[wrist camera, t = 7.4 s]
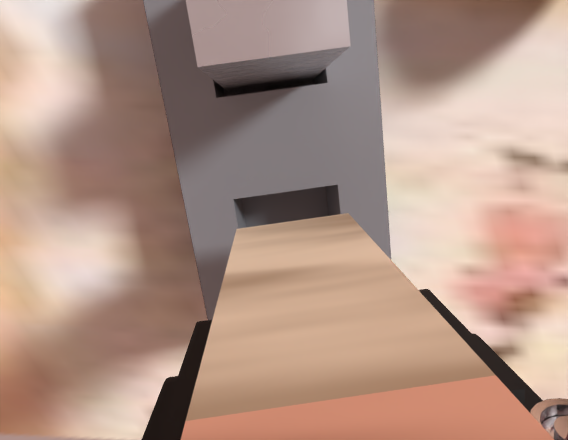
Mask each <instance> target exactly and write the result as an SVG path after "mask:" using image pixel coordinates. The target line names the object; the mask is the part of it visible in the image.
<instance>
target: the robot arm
mask: <svg viewBox="0 0 568 440" xmlns="http://www.w3.org/2000/svg"><path fill="white" fill-rule="evenodd" d="M419 291H420V293H421V294H422V295H423V296H424V297H425V298H426V299H427V300H428V301H429V302H430V304H431V305H432V306H433V307H434V308H435V309H436V310H437V311H438V312H439V313H440V315H441V316H442V317H443V318H444V319H445V320H446V321H447V322H448V323H449V324H450V326H451V327H452V328H453V329H454V330H455V331H456V332H457V333H458V334H459V335H460V337H461V338H462V339H463V340H464V341H465V342H466V343H467V344H468V345H469V346H470V348H471V349H472V350H473V351H474V352H475V353H476V354H477V355H478V356H479V357H480V359H481V360H482V361H483V362H484V363H485V364H486V365H487V366H488V367H489V368H490V370H491V371H492V372H493V373H494V374H495V375H496V376H497V377H498V378H499V379H500V381H501V382H502V383H503V384H504V385H505V386H506V387H507V388H508V389H509V390H510V392H511V393H512V394H513V395H514V396H515V397H516V398H517V399H518V400H519V401H520V403H521V404H522V405H523V406H524V407H525V408H526V409H527V410H528V411H529V412H530V414H531V415H532V416H533V417H534V418H535V419H536V420H537V421H538V422H539V423H540V425H541V426H542V427H543V428H544V429H545V430H546V431H547V432H548V433H549V434H550V435H551V437H552V438H553V439H554V440H568V399H561V398H558V399H547V400H544V401H543V400H542V399H541V398H540V397H539V396H538V395H537V394H536V393H535V392H534V391H533V390H532V389H531V388H530V387H529V386H528V385H527V384H526V383H525V382H524V381H523V380H522V379H521V378H520V377H519V376H518V375H517V374H516V373H515V372H514V371H513V370H512V369H511V368H510V367H509V366H508V365H507V364H506V363H505V362H504V361H503V360H502V359H501V358H500V357H499V356H498V355H497V354H496V353H495V352H494V351H493V350H492V349H491V348H490V347H489V346H488V345H487V344H486V343H485V342H484V341H483V340H482V339H481V338H480V337H479V336H477V335H476V334H471V333H470V332H469V331H468V329H467V328H466V327H465V326H464V325H463V324H462V323H461V322H460V321H459V320H458V319H457V318H456V317H455V316H454V315H453V314H452V313H451V312H450V311H449V310H448V309H447V308H446V307H445V306H444V305H443V304H442V303H441V302H440V301H439V300H438V299H437V298H436V296H435V295H434V294H433V293H432V292H431V291H430V290H428V289H423V290H419ZM211 323H212V320H207V321H200V322H197V323H196V326H195V329H194V331H193V334H192V337H191V340H190V343H189V346H188V349H187V352H186V355H185V358H184V360H183V363H182V366H181V369H180V372H179V375H178V376H175V377H169V378H167V379H166V380H165V382H164V384H163V386H162V389H161V392H160V394H159V397H158V399H157V402H156V404H155V407H154V410H153V412H152V415H151V417H150V420H149V422H148V425H147V428H146V430H145V433H144V435H143V438H142V440H181V436H182V433H183V429H184V425H185V421H186V418H187V414H188V410H189V406H190V403H191V399H192V395H193V391H194V387H195V384H196V380H197V376H198V372H199V369H200V365H201V361H202V357H203V354H204V350H205V346H206V342H207V338H208V335H209V331H210V327H211Z"/></svg>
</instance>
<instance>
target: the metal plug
mask: <svg viewBox="0 0 568 440" xmlns="http://www.w3.org/2000/svg"><path fill="white" fill-rule="evenodd" d="M186 5H187V10H188V16H189V22H190V27H191V33H192V39H193V44H194V50H195V55H196V61H197V67H198V68H199V69H201V70H202V71H203V72H204V73H206V74H207V75H208V76H209V77H210V78H212V79H213V80H214V81H215V82H217V83H218V84H219V85H220V86H222V87H223V88H224V89H225V90H227V91H228V92H229V93H230V94H231V95H232V94H239V93H246V92H253V91H261V90H268V89H275V88H283V87H290V86H297V85H305V84H308V83H309V82H311V81H312V80H313V79H314V78H315V77H316V76H317V75H319V74H320V73H321V72H322V71H323V70H324V69H325V68H327V67H328V66H329V65H330V64H331V63H332V62H333V61H334V60H336V59H337V58H338V57H339V56H340V55H341V54H342V53H344V52H345V51H346V50H347V49H348V48H349V47H350V46H351V45H350V33H349V21H348V9H347V0H186Z"/></svg>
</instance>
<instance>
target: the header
mask: <svg viewBox="0 0 568 440" xmlns="http://www.w3.org/2000/svg"><path fill="white" fill-rule="evenodd" d="M143 2H144V7H145V12H146V17H147V22H148V26H149V31H150V36H151V41H152V46H153V51H154V56H155V61H156V66H157V71H158V76H159V81H160V86H161V91H162V96H163V101H164V105H165V110H166V115H167V120H168V125H169V130H170V135H171V140H172V145H173V150H174V155H175V160H176V165H177V170H178V175H179V180H180V184H181V189H182V194H183V199H184V204H185V209H186V214H187V219H188V224H189V229H190V234H191V239H192V244H193V249H194V254H195V259H196V263H197V268H198V273H199V278H200V283H201V288H202V293H203V298H204V303H205V308H206V313H207V318H208V320H213V316H214V312H215V308H216V305H217V301H218V297H219V293H220V290H221V286H222V282H223V278H224V274H225V271H226V267H227V263H228V259H229V256H230V252H231V248H232V244H233V241H234V237H235V233H236V229H240V228H247V227H254V226H261V225H268V224H275V223H282V222H289V221H296V220H303V219H311V218H318V217H325V216H332V215H339V214H346V213H349V215H350V216H351V217H352V218H353V219H354V220H355V221H356V222H357V223H358V224H359V225H360V227H361V228H362V229H363V230H364V231H365V232H366V233H367V234H368V235H369V236H370V238H371V239H372V240H373V241H374V242H375V243H376V244H377V245H378V246H379V247H380V249H381V250H382V251H383V252H384V253H385V254H386V255H387V256H388V257H389V258H390V260H391V249H390V234H389V220H388V205H387V190H386V175H385V161H384V146H383V131H382V116H381V102H380V87H379V72H378V57H377V42H376V28H375V13H374V0H347V9H348V21H349V33H350V45H351V46H350V47H349V48H348V49H347V50H346V51H345V52H344V53H342V54H341V55H340V56H339V57H338V58H337V59H336V60H334V61H333V62H332V63H331V64H330V65H329V66H328V67H327V68H325V69H324V70H323V71H322V72H321V73H320V74H319V75H317V76H316V77H315V78H314V79H313V80H312V81H311V82H309V83H308V84H305V85H297V86H290V87H283V88H275V89H268V90H261V91H253V92H246V93H239V94H232V95H231V94H230V93H229V92H228V91H227V90H225V89H224V88H223V87H222V86H220V85H219V84H218V83H217V82H215V81H214V80H213V79H212V78H210V77H209V76H208V75H207V74H206V73H204V72H203V71H202V70H201V69H199V68H198V67H197V61H196V55H195V50H194V44H193V39H192V33H191V27H190V22H189V16H188V10H187V5H186V0H143Z"/></svg>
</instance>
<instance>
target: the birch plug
mask: <svg viewBox="0 0 568 440" xmlns="http://www.w3.org/2000/svg"><path fill="white" fill-rule="evenodd" d="M181 440H554V439H553V438H552V437H551V435H550V434H549V433H548V432H547V431H546V430H545V429H544V428H543V427H542V426H541V425H540V423H539V422H538V421H537V420H536V419H535V418H534V417H533V416H532V415H531V414H530V412H529V411H528V410H527V409H526V408H525V407H524V406H523V405H522V404H521V403H520V401H519V400H518V399H517V398H516V397H515V396H514V395H513V394H512V393H511V392H510V390H509V389H508V388H507V387H506V386H505V385H504V384H503V383H502V382H501V381H500V379H499V378H498V377H497V376H496V375H495V374H494V373H493V372H492V371H491V370H490V368H489V367H488V366H487V365H486V364H485V363H484V362H483V361H482V360H481V359H480V357H479V356H478V355H477V354H476V353H475V352H474V351H473V350H472V349H471V348H470V346H469V345H468V344H467V343H466V342H465V341H464V340H463V339H462V338H461V337H460V335H459V334H458V333H457V332H456V331H455V330H454V329H453V328H452V327H451V326H450V324H449V323H448V322H447V321H446V320H445V319H444V318H443V317H442V316H441V315H440V313H439V312H438V311H437V310H436V309H435V308H434V307H433V306H432V305H431V304H430V302H429V301H428V300H427V299H426V298H425V297H424V296H423V295H422V294H421V293H420V291H419V290H418V289H417V288H416V287H415V286H414V285H413V284H412V283H411V282H410V280H409V279H408V278H407V277H406V276H405V275H404V274H403V273H402V272H401V271H400V269H399V268H398V267H397V266H396V265H395V264H394V263H393V262H392V261H391V260H390V258H389V257H388V256H387V255H386V254H385V253H384V252H383V251H382V250H381V249H380V247H379V246H378V245H377V244H376V243H375V242H374V241H373V240H372V239H371V238H370V236H369V235H368V234H367V233H366V232H365V231H364V230H363V229H362V228H361V227H360V225H359V224H358V223H357V222H356V221H355V220H354V219H353V218H352V217H351V216H350V215H349V213H346V214H339V215H332V216H325V217H318V218H311V219H303V220H296V221H289V222H282V223H275V224H268V225H261V226H254V227H247V228H240V229H236V233H235V237H234V241H233V244H232V248H231V252H230V256H229V259H228V263H227V267H226V271H225V274H224V278H223V282H222V286H221V290H220V293H219V297H218V301H217V305H216V308H215V312H214V316H213V320H212V323H211V327H210V331H209V335H208V338H207V342H206V346H205V350H204V354H203V357H202V361H201V365H200V369H199V372H198V376H197V380H196V384H195V387H194V391H193V395H192V399H191V403H190V406H189V410H188V414H187V418H186V421H185V425H184V429H183V433H182V436H181Z"/></svg>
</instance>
